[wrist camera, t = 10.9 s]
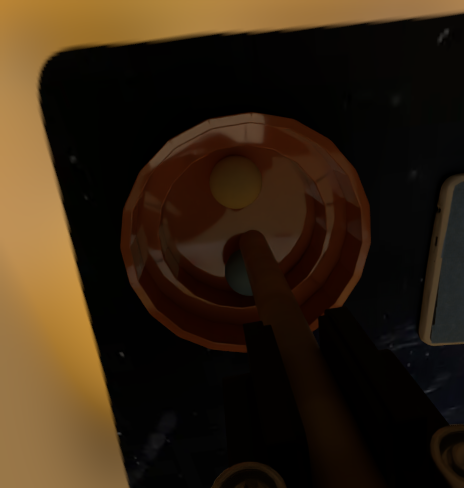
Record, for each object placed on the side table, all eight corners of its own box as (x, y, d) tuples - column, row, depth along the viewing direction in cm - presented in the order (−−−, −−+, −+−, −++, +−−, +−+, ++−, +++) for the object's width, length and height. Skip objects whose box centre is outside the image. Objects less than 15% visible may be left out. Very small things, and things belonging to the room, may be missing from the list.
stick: (239, 253, 20) (347, 654, 5) (236, 228, 20) (342, 593, 5) (265, 249, 20) (443, 636, 5) (262, 224, 20) (447, 572, 5)
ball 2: (227, 286, 25) (230, 308, 23) (220, 245, 24) (222, 262, 22) (271, 279, 26) (280, 299, 23) (265, 237, 24) (274, 253, 22)
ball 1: (213, 206, 24) (215, 218, 21) (204, 157, 23) (205, 163, 20) (260, 198, 24) (269, 209, 21) (254, 149, 23) (262, 154, 20)
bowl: (161, 324, 27) (152, 369, 22) (113, 132, 22) (90, 137, 17) (343, 292, 27) (373, 330, 22) (331, 96, 22) (366, 92, 18)
